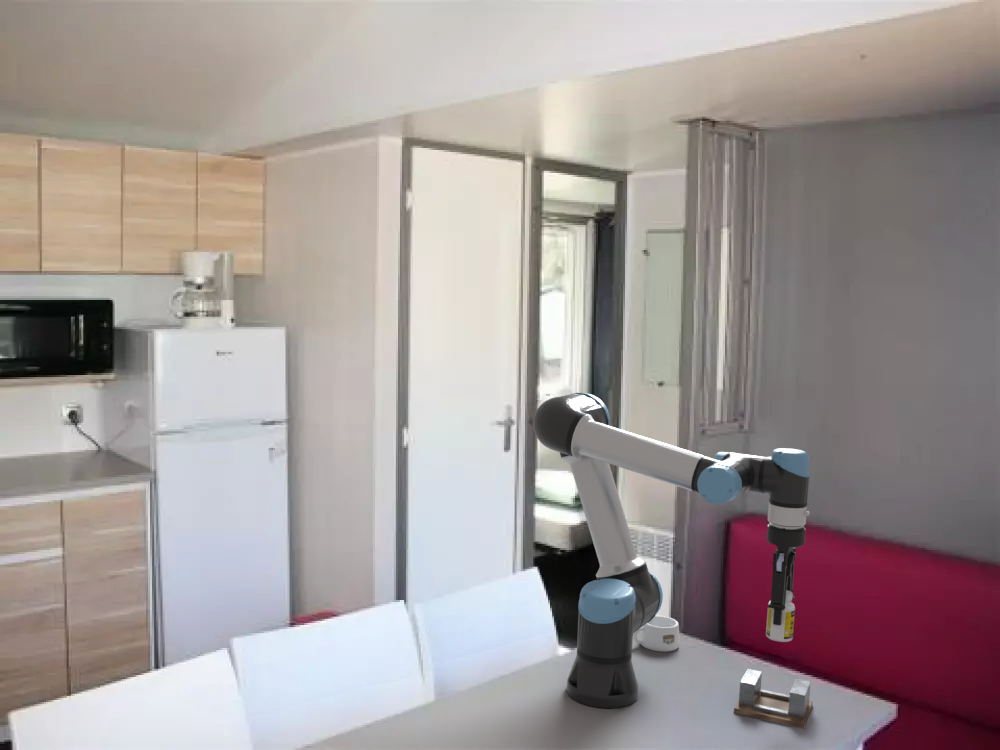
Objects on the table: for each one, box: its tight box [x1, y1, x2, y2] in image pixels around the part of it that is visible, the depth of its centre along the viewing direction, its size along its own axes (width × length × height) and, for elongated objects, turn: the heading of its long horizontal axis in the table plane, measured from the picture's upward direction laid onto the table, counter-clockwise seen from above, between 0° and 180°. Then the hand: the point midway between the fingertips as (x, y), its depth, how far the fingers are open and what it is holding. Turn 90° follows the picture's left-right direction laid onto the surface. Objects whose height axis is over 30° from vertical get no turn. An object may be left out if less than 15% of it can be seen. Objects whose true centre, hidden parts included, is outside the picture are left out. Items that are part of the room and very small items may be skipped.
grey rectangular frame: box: [738, 668, 812, 719], centre depth 203 cm, size 13×9×5 cm
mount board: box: [733, 693, 813, 729], centre depth 204 cm, size 14×12×1 cm
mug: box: [633, 615, 681, 653], centre depth 237 cm, size 12×10×6 cm
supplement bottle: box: [765, 590, 796, 643], centre depth 201 cm, size 5×5×10 cm
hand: (779, 634), depth 202 cm, fingers closed on supplement bottle, 5 cm apart
